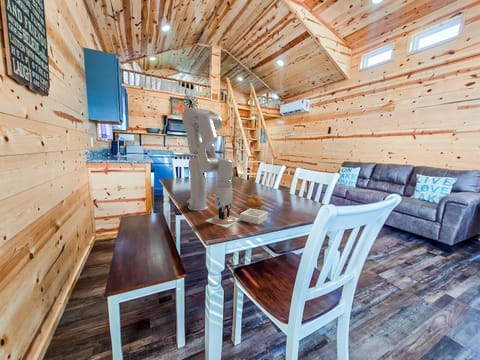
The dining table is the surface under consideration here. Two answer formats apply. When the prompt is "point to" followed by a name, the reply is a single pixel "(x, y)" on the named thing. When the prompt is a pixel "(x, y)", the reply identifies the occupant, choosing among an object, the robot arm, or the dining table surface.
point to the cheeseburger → (254, 203)
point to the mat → (223, 224)
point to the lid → (226, 219)
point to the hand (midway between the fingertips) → (223, 217)
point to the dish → (254, 216)
